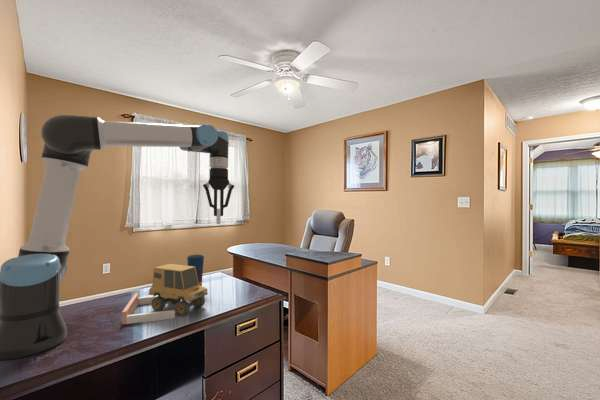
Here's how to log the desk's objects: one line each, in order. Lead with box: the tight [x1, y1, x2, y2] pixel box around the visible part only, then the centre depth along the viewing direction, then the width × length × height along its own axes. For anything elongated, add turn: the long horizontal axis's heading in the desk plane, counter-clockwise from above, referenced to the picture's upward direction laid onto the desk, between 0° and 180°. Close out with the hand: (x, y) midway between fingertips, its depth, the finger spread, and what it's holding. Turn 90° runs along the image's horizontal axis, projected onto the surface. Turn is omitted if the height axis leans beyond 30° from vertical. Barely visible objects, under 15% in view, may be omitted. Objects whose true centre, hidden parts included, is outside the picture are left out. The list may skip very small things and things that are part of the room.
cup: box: [186, 254, 205, 287], centre depth 122 cm, size 7×7×15 cm
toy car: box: [148, 263, 209, 317], centre depth 101 cm, size 10×19×15 cm, turn 69°
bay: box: [121, 292, 176, 325], centre depth 99 cm, size 15×18×4 cm
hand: (218, 223), depth 119 cm, fingers closed
